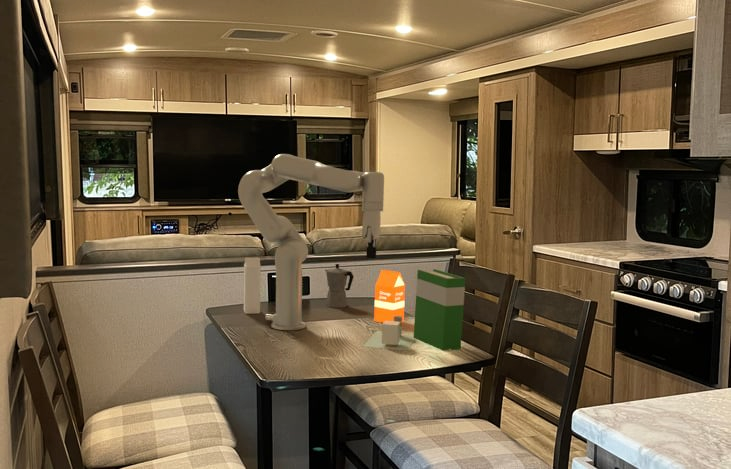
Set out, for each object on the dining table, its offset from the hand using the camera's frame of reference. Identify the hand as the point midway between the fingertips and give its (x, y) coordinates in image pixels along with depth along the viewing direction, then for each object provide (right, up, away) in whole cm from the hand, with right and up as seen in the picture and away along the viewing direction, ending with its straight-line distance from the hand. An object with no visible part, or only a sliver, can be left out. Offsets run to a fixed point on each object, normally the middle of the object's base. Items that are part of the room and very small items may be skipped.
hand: (371, 257), depth 243 cm
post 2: (+9, -27, -3) cm, 29 cm away
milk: (-48, -23, +30) cm, 61 cm away
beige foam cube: (+6, -28, -16) cm, 33 cm away
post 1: (+6, -29, -16) cm, 34 cm away
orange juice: (+7, -26, +20) cm, 33 cm away
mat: (+7, -28, -9) cm, 31 cm away
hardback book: (+22, -29, -11) cm, 38 cm away
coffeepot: (-14, -22, +46) cm, 53 cm away
